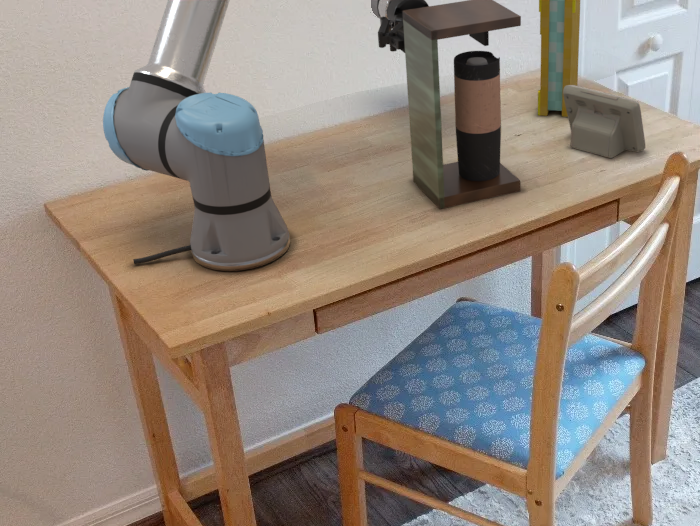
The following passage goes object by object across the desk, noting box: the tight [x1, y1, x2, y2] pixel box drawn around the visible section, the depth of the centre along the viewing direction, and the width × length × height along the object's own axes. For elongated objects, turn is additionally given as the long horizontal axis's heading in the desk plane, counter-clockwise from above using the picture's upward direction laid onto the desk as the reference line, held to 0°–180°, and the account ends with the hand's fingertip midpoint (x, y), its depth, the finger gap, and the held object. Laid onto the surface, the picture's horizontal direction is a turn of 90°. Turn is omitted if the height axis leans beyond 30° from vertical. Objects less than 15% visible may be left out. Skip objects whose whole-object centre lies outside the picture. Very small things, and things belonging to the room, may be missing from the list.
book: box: [537, 0, 581, 118], centre depth 198 cm, size 17×7×25 cm, turn 168°
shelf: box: [403, 0, 522, 210], centre depth 165 cm, size 15×12×30 cm
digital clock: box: [563, 85, 646, 159], centre depth 183 cm, size 16×9×11 cm, turn 39°
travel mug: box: [453, 50, 502, 181], centre depth 168 cm, size 8×8×20 cm
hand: (450, 43), depth 171 cm, fingers open, 13 cm apart
